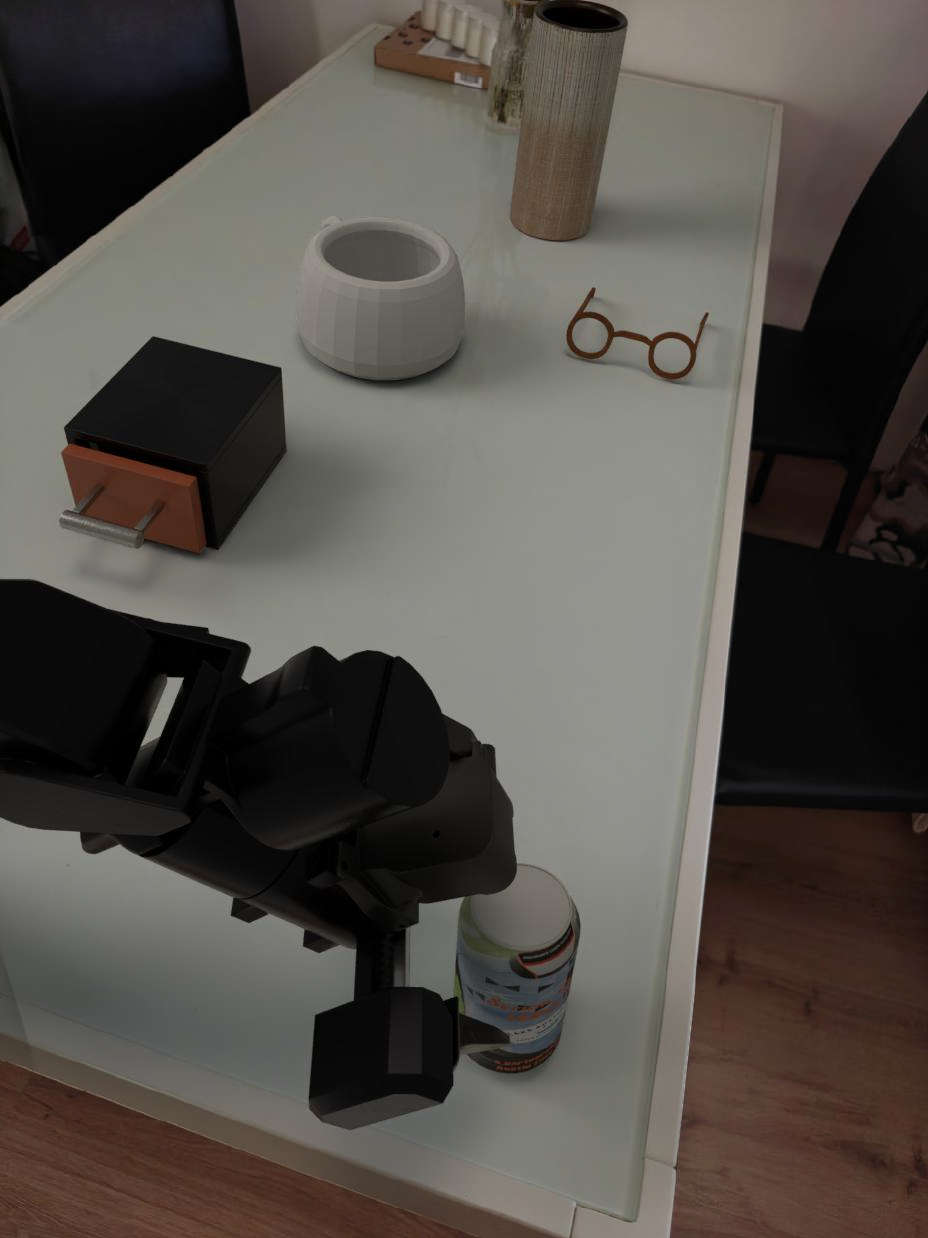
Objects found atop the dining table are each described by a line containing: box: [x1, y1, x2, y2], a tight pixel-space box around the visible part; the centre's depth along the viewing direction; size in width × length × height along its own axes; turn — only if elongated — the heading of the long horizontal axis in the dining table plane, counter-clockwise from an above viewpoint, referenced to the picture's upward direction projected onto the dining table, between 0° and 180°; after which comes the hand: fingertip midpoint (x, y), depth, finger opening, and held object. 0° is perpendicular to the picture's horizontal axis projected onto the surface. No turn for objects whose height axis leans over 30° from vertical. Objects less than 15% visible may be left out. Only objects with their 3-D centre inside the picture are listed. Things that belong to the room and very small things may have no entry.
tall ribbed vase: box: [509, 0, 629, 241], centre depth 113 cm, size 10×10×23 cm
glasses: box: [565, 286, 710, 381], centre depth 103 cm, size 13×13×5 cm
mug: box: [295, 214, 466, 381], centre depth 98 cm, size 21×17×10 cm
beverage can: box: [453, 862, 582, 1075], centre depth 51 cm, size 6×7×12 cm
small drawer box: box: [63, 335, 288, 551], centre depth 81 cm, size 14×12×9 cm
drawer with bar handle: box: [58, 442, 207, 554], centre depth 78 cm, size 17×10×7 cm, turn 164°
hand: (498, 949), depth 50 cm, fingers open, 9 cm apart
